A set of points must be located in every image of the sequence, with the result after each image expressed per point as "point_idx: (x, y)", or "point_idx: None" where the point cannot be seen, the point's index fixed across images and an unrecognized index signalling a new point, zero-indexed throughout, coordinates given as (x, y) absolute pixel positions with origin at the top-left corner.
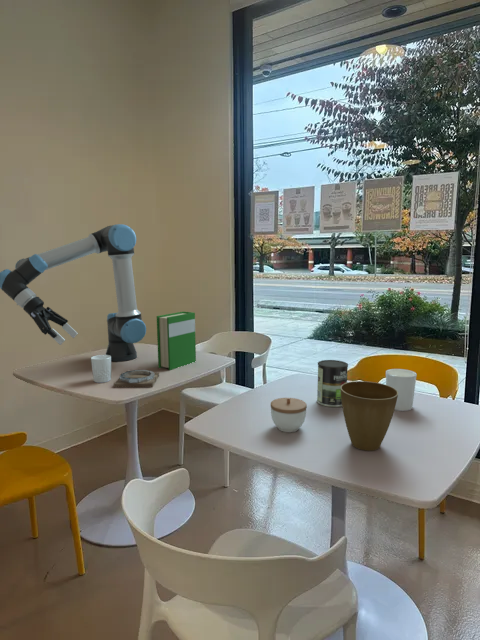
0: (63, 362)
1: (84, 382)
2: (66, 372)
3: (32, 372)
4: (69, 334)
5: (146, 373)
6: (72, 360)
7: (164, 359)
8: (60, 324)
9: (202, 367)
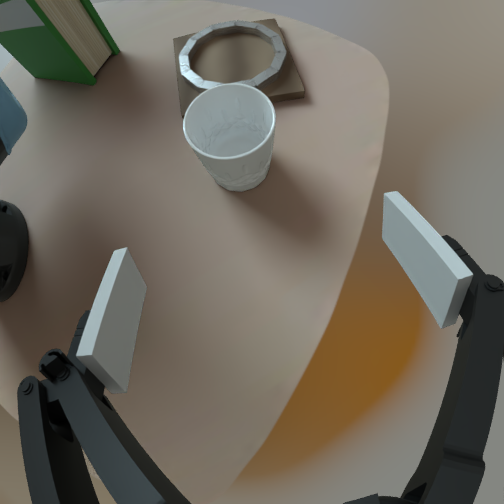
0: None
1: (274, 214)
2: (163, 359)
3: (193, 474)
4: (139, 316)
5: (193, 51)
6: None
7: (91, 52)
8: (114, 412)
9: (104, 15)
